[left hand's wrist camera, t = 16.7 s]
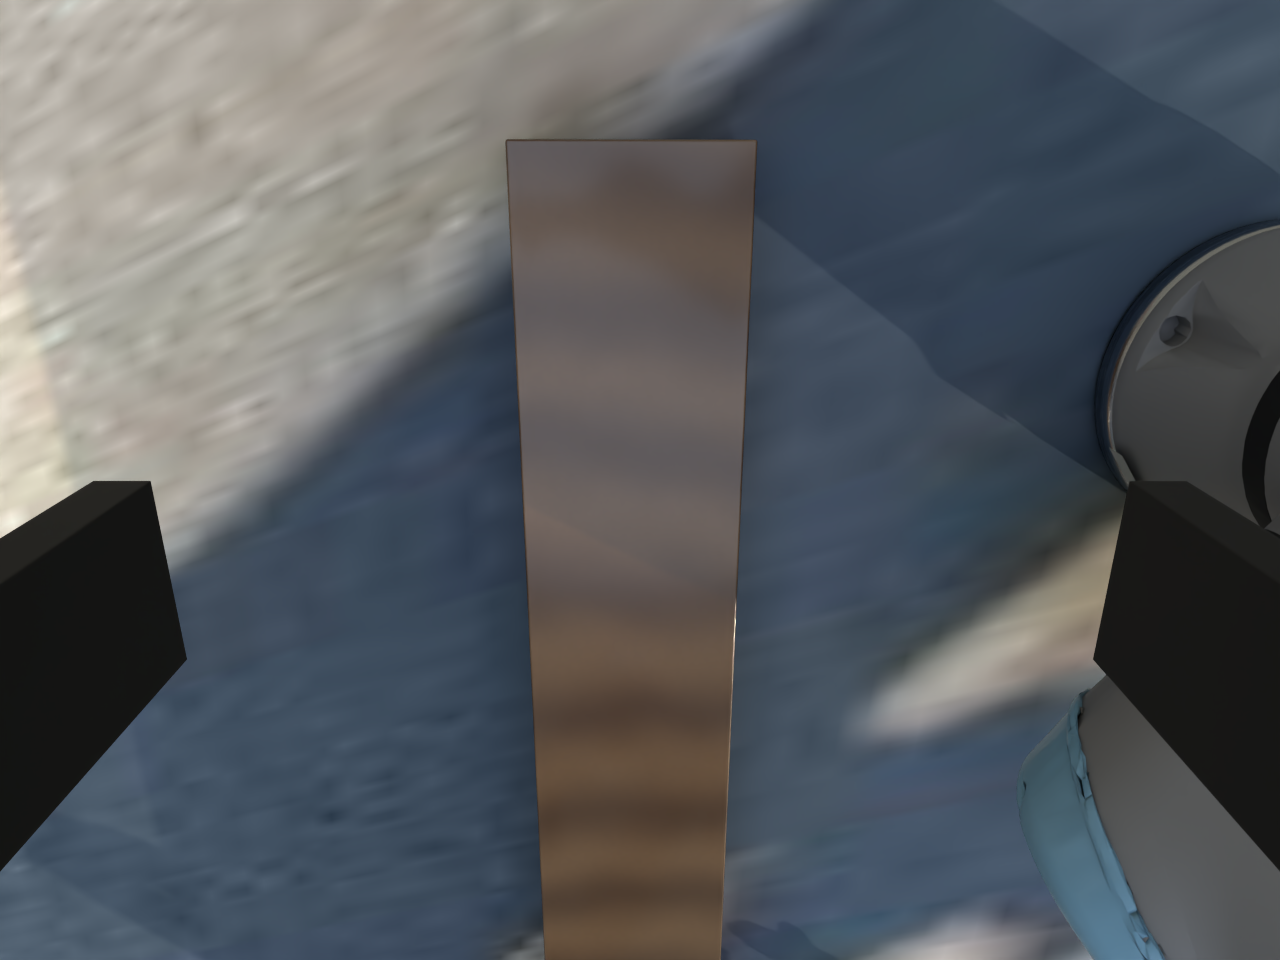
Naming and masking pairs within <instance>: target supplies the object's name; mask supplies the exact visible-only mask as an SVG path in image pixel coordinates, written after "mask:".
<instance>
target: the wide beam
mask: <svg viewBox="0 0 1280 960" xmlns="http://www.w3.org/2000/svg"><path fill="white" fill-rule="evenodd" d="M756 159H757V140H596V139H507V140H506V163H507V184H508V205H509V225H510V246H511V267H512V288H513V309H514V329H515V350H516V371H517V392H518V412H519V433H520V454H521V475H522V496H523V516H524V537H525V558H526V579H527V599H528V620H529V641H530V662H531V682H532V703H533V724H534V745H535V766H536V786H537V807H538V828H539V849H540V869H541V890H542V911H543V932H544V953H545V960H721V938H722V915H723V893H724V871H725V849H726V826H727V804H728V782H729V760H730V737H731V715H732V693H733V671H734V648H735V626H736V604H737V582H738V559H739V537H740V515H741V493H742V471H743V448H744V426H745V404H746V382H747V359H748V337H749V315H750V293H751V270H752V248H753V226H754V204H755V181H756Z"/></svg>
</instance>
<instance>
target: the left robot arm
mask: <svg viewBox="0 0 1280 960" xmlns="http://www.w3.org/2000/svg"><path fill="white" fill-rule="evenodd" d="M1095 422H1096V430H1097V435H1098V440H1099V444H1100V447H1101V450H1102V453H1103V456H1104V458H1105V460H1106V462H1107V464H1108V466H1109V468H1110V470H1111V471H1112V473H1113V474H1114V476H1115V478H1116V479H1117V480H1118V481H1119V483H1120V484H1121V485H1122V486H1123V488H1124V489H1125V490H1126V491H1127V496H1126V501H1125V506H1124V510H1123V515H1122V520H1121V525H1120V530H1119V535H1118V540H1117V545H1116V550H1115V555H1114V559H1113V564H1112V569H1111V574H1110V579H1109V584H1108V589H1107V594H1106V599H1105V604H1104V609H1103V613H1102V618H1101V623H1100V628H1099V633H1098V638H1097V643H1096V648H1095V653H1094V658H1093V660H1094V661H1095V662H1096V663H1097V664H1098V665H1099V667H1100V668H1101V669H1102V670H1103V671H1104V672H1105V673H1106V676H1105V677H1104V678H1103V679H1102V680H1101V681H1099V682H1098V683H1097V684H1096V685H1095V686H1094V687H1093V688H1092V689H1090V688H1088V689H1086V690H1085V691H1083V692H1082V693H1080V694H1079V695H1078V696H1077V697H1075V698H1074V700H1073V702H1072V704H1071V706H1070V709H1069V711H1068V713H1067V714H1066V715H1065V716H1064V717H1063V718H1062V719H1061V720H1060V722H1059V723H1058V724H1057V725H1056V726H1055V727H1054V728H1053V729H1052V730H1051V731H1050V732H1049V734H1048V735H1047V736H1046V737H1045V738H1044V739H1043V740H1042V741H1041V742H1040V743H1039V744H1038V745H1037V746H1036V747H1035V748H1034V749H1033V750H1032V751H1031V752H1030V753H1029V755H1028V756H1027V757H1026V759H1025V761H1024V762H1023V764H1022V767H1021V769H1020V772H1019V775H1018V780H1017V804H1018V808H1019V811H1020V814H1019V816H1020V823H1021V827H1022V830H1023V833H1024V836H1025V839H1026V842H1027V844H1028V847H1029V850H1030V852H1031V854H1032V857H1033V859H1034V861H1035V863H1036V866H1037V868H1038V870H1039V872H1040V874H1041V876H1042V878H1043V880H1044V882H1045V884H1046V885H1047V887H1048V889H1049V891H1050V893H1051V895H1052V896H1053V898H1054V900H1055V902H1056V903H1057V905H1058V907H1059V909H1060V910H1061V912H1062V913H1063V915H1064V917H1065V918H1066V920H1067V921H1068V923H1069V925H1070V926H1071V928H1072V929H1073V931H1074V932H1075V934H1076V935H1077V937H1078V938H1079V940H1080V941H1081V943H1082V944H1083V946H1084V947H1085V948H1086V950H1087V951H1088V953H1089V954H1090V955H1091V957H1092V958H1093V959H1094V960H1280V220H1271V221H1265V222H1259V223H1255V224H1251V225H1248V226H1244V227H1240V228H1238V229H1235V230H1232V231H1229V232H1227V233H1224V234H1222V235H1220V236H1217V237H1215V238H1213V239H1211V240H1209V241H1207V242H1205V243H1203V244H1202V245H1200V246H1198V247H1196V248H1195V249H1193V250H1191V251H1190V252H1188V253H1187V254H1186V255H1184V256H1183V257H1181V258H1180V259H1178V260H1177V261H1176V262H1174V263H1173V264H1172V265H1171V266H1169V267H1168V268H1167V269H1166V270H1164V271H1163V272H1162V273H1161V274H1160V275H1159V276H1158V277H1157V278H1156V279H1155V280H1154V281H1153V282H1152V283H1151V284H1150V285H1149V286H1148V287H1147V288H1146V289H1145V290H1144V291H1143V292H1142V294H1141V295H1140V296H1139V297H1138V298H1137V300H1136V301H1135V302H1134V304H1133V305H1132V306H1131V307H1130V309H1129V310H1128V312H1127V313H1126V315H1125V316H1124V318H1123V319H1122V321H1121V323H1120V324H1119V326H1118V328H1117V330H1116V332H1115V333H1114V335H1113V337H1112V339H1111V341H1110V344H1109V346H1108V348H1107V351H1106V353H1105V356H1104V359H1103V362H1102V365H1101V368H1100V372H1099V377H1098V382H1097V387H1096V396H1095ZM186 660H187V658H186V653H185V648H184V643H183V638H182V633H181V628H180V623H179V618H178V613H177V609H176V604H175V599H174V594H173V589H172V584H171V579H170V574H169V569H168V564H167V559H166V555H165V550H164V545H163V540H162V535H161V530H160V525H159V520H158V515H157V510H156V506H155V501H154V496H153V491H152V486H151V481H93V482H91V483H90V484H88V485H86V486H85V487H83V488H81V489H80V490H78V491H77V492H75V493H73V494H72V495H70V496H68V497H67V498H65V499H64V500H62V501H60V502H59V503H57V504H55V505H54V506H52V507H51V508H49V509H47V510H46V511H44V512H42V513H41V514H39V515H38V516H36V517H34V518H33V519H31V520H29V521H28V522H26V523H25V524H23V525H21V526H20V527H18V528H16V529H15V530H13V531H12V532H10V533H8V534H7V535H5V536H3V537H2V538H0V871H1V870H2V869H3V868H4V867H5V865H6V864H7V863H8V862H9V861H10V860H11V859H12V857H13V856H14V855H15V854H16V853H17V852H18V851H19V850H20V848H21V847H22V846H23V845H24V844H25V843H26V842H27V840H28V839H29V838H30V837H31V836H32V835H33V834H34V832H35V831H36V830H37V829H38V828H39V827H40V826H41V825H42V823H43V822H44V821H45V820H46V819H47V818H48V817H49V815H50V814H51V813H52V812H53V811H54V810H55V809H56V807H57V806H58V805H59V804H60V803H61V802H62V801H63V800H64V798H65V797H66V796H67V795H68V794H69V793H70V792H71V790H72V789H73V788H74V787H75V786H76V785H77V784H78V782H79V781H80V780H81V779H82V778H83V777H84V776H85V775H86V773H87V772H88V771H89V770H90V769H91V768H92V767H93V765H94V764H95V763H96V762H97V761H98V760H99V759H100V757H101V756H102V755H103V754H104V753H105V752H106V751H107V750H108V748H109V747H110V746H111V745H112V744H113V743H114V742H115V740H116V739H117V738H118V737H119V736H120V735H121V734H122V732H123V731H124V730H125V729H126V728H127V727H128V726H129V725H130V723H131V722H132V721H133V720H134V719H135V718H136V717H137V715H138V714H139V713H140V712H141V711H142V710H143V709H144V707H145V706H146V705H147V704H148V703H149V702H150V701H151V700H152V698H153V697H154V696H155V695H156V694H157V693H158V692H159V690H160V689H161V688H162V687H163V686H164V685H165V684H166V682H167V681H168V680H169V679H170V678H171V677H172V676H173V675H174V673H175V672H176V671H177V670H178V669H179V668H180V667H181V665H182V664H183V663H184V662H185V661H186Z"/></svg>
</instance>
